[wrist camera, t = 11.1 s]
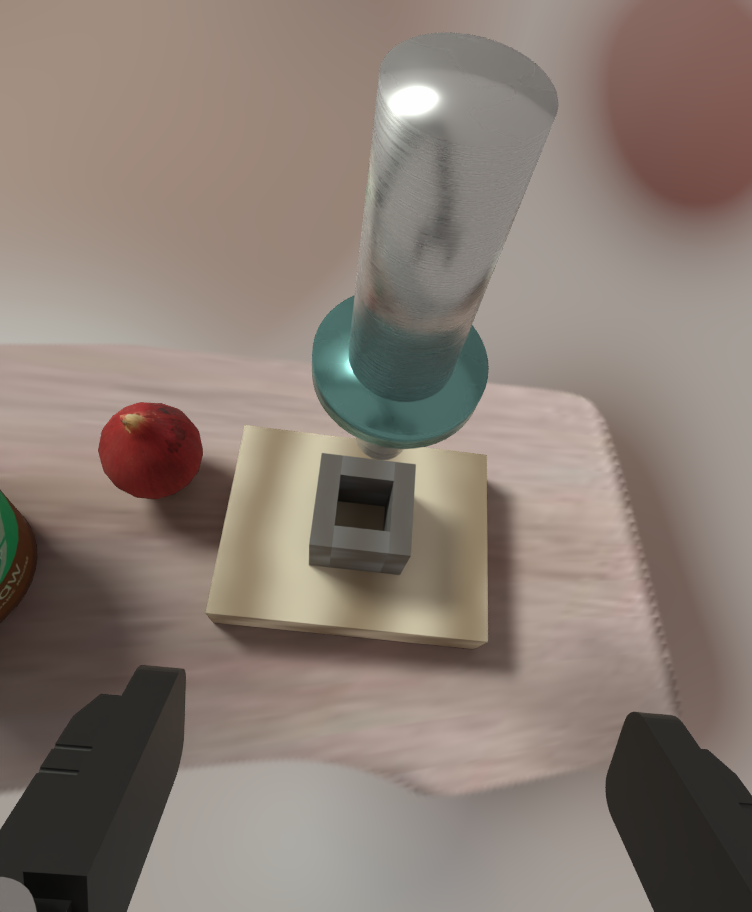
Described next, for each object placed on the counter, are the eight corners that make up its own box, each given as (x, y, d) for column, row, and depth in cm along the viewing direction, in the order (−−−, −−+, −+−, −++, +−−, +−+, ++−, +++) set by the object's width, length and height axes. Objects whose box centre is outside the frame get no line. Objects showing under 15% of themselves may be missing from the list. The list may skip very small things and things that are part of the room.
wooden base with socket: (213, 622, 34) (192, 596, 28) (249, 446, 40) (238, 391, 34) (474, 649, 35) (510, 630, 29) (474, 473, 41) (505, 425, 34)
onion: (176, 422, 40) (148, 353, 33) (228, 478, 39) (210, 419, 31) (101, 472, 38) (54, 410, 31) (154, 534, 36) (117, 484, 29)
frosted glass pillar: (301, 493, 23) (296, 162, 10) (320, 370, 26) (335, -20, 12) (448, 510, 23) (634, 213, 10) (451, 387, 26) (601, 26, 13)
